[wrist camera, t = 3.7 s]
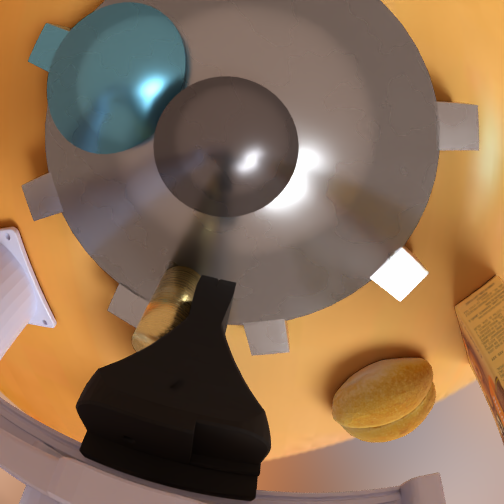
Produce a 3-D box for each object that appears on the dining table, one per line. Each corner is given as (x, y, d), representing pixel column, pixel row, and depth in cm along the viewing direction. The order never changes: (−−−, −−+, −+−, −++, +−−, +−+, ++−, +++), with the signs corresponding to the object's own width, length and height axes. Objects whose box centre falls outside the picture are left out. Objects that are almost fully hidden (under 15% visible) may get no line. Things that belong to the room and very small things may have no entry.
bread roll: (421, 334, 17) (442, 379, 13) (432, 391, 20) (445, 427, 17) (312, 380, 19) (316, 428, 16) (348, 425, 23) (353, 462, 19)
